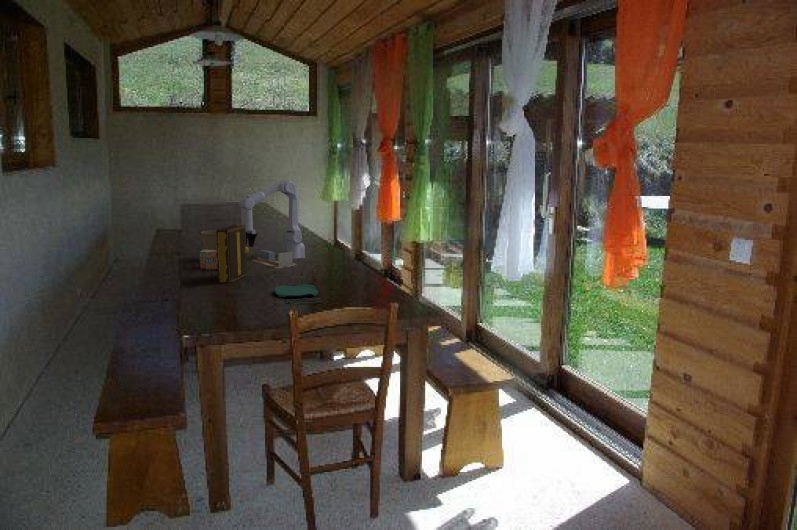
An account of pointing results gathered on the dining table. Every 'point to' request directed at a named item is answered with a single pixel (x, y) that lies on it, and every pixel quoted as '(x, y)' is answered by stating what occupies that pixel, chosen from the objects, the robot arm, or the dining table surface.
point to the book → (231, 253)
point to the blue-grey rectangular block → (267, 255)
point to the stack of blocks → (208, 259)
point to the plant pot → (209, 239)
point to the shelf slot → (278, 261)
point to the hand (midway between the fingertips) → (247, 245)
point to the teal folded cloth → (298, 293)
